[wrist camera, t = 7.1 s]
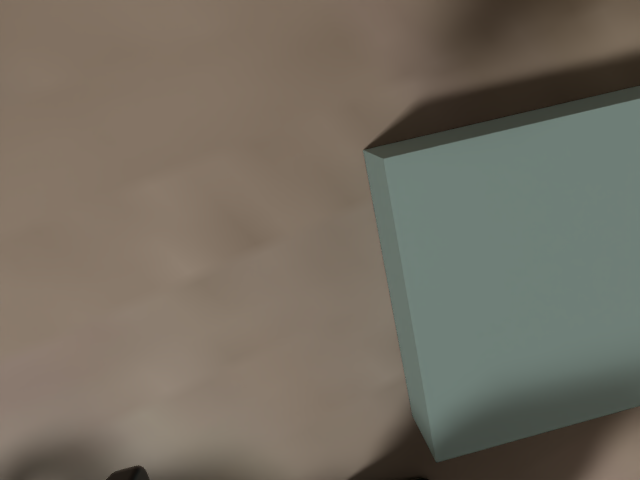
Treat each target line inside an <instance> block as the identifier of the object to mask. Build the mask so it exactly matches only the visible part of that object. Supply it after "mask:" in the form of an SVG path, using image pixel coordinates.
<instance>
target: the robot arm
mask: <svg viewBox="0 0 640 480" xmlns="http://www.w3.org/2000/svg"><path fill="white" fill-rule="evenodd" d="M106 480H150V479H149V477H148V474H147V472H146V470H145V469H144V468H143V467H141V466H134V467H130V468H126V469H123V470H119V471H116V472H114V473H112V474H111V475H110V476H109V477H108V478H107V479H106ZM416 480H428V479H425V478H419V479H416Z"/></svg>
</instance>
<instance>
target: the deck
mask: <svg viewBox="0 0 640 480" xmlns="http://www.w3.org/2000/svg"><path fill="white" fill-rule="evenodd" d="M363 152H364V157H365V163H366V168H367V173H368V179H369V184H370V190H371V195H372V200H373V206H374V211H375V216H376V222H377V227H378V233H379V238H380V243H381V249H382V254H383V260H384V265H385V270H386V276H387V281H388V287H389V292H390V297H391V303H392V308H393V314H394V319H395V324H396V330H397V335H398V340H399V346H400V351H401V357H402V362H403V367H404V373H405V378H406V384H407V389H408V394H409V400H410V405H411V411H412V416H413V418H414V420H415V422H416V424H417V426H418V428H419V430H420V432H421V434H422V435H423V437H424V439H425V441H426V443H427V445H428V447H429V449H430V451H431V453H432V455H433V457H434V459H435V461H436V463H437V462H441V461H444V460H448V459H451V458H455V457H459V456H462V455H466V454H469V453H473V452H476V451H480V450H484V449H487V448H491V447H494V446H498V445H502V444H505V443H509V442H512V441H516V440H519V439H523V438H527V437H530V436H534V435H537V434H541V433H545V432H548V431H552V430H555V429H559V428H562V427H566V426H570V425H573V424H577V423H580V422H584V421H588V420H591V419H595V418H598V417H602V416H605V415H609V414H613V413H616V412H620V411H623V410H627V409H631V408H634V407H638V406H640V86H636V87H632V88H627V89H623V90H619V91H615V92H610V93H606V94H602V95H597V96H593V97H589V98H585V99H580V100H576V101H572V102H567V103H563V104H559V105H554V106H550V107H546V108H542V109H537V110H533V111H529V112H524V113H520V114H516V115H512V116H507V117H503V118H499V119H494V120H490V121H486V122H482V123H477V124H473V125H469V126H464V127H460V128H456V129H451V130H447V131H443V132H439V133H434V134H430V135H426V136H421V137H417V138H413V139H409V140H404V141H400V142H396V143H391V144H387V145H383V146H379V147H374V148H370V149H366V150H363Z"/></svg>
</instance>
